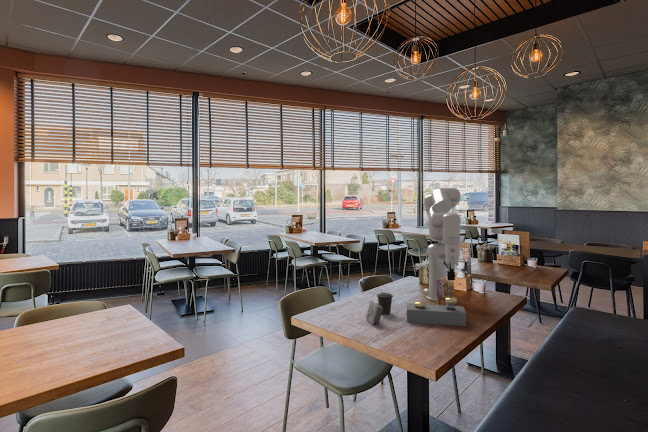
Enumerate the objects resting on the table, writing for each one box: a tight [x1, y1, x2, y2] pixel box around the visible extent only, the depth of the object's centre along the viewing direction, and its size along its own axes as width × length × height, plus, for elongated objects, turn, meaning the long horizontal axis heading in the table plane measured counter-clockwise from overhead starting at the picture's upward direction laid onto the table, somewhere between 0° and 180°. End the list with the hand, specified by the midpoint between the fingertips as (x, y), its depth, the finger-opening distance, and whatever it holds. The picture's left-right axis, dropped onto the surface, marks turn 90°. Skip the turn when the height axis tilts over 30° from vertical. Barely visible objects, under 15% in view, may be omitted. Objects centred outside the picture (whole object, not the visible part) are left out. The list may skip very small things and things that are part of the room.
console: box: [406, 302, 467, 327], centre depth 169 cm, size 26×10×6 cm, turn 76°
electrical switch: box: [365, 300, 383, 326], centre depth 169 cm, size 9×5×9 cm, turn 10°
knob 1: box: [414, 300, 426, 308], centre depth 171 cm, size 5×5×6 cm
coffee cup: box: [376, 292, 394, 316], centre depth 181 cm, size 8×8×10 cm
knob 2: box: [445, 296, 458, 310], centre depth 167 cm, size 5×5×6 cm
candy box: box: [436, 278, 455, 306], centre depth 186 cm, size 9×4×15 cm, turn 20°
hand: (451, 279), depth 166 cm, fingers closed
